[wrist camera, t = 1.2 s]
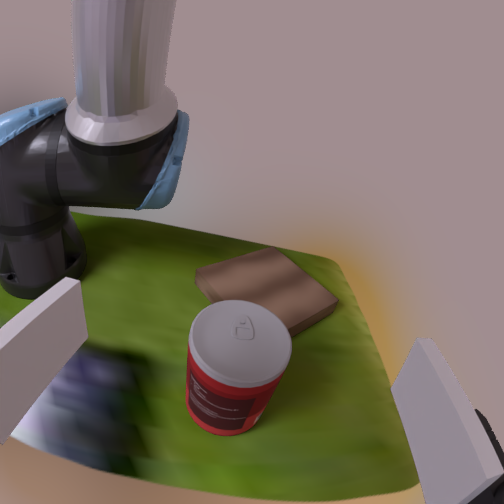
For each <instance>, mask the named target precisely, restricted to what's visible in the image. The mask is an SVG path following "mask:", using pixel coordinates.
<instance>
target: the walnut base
mask: <svg viewBox="0 0 504 504" xmlns="http://www.w3.org/2000/svg"><path fill="white" fill-rule="evenodd" d="M195 284H196V285H197V286H198V288H199V289H200V290H201V291H202V292H203V294H204V295H205V296H206V297H207V298H208V299H209V301H210V302H211V303H212V304H214V303H216V302H220V301H225V300H243V301H248V302H252V303H255V304H258V305H261V306H262V307H264V308H266V309H268V310H270V311H271V312H272V313H274V314H275V315H276V316H277V317H278V318H279V319H280V320H281V321H282V322H283V323H284V325H285V326H286V328H287V330H288V332H289V334H290V337H293V336H295V335H296V334H298V333H300V332H301V331H303V330H305V329H307V328H308V327H310V326H312V325H313V324H315V323H317V322H318V321H320V320H322V319H323V318H325V317H326V316H328V315H330V314H331V313H333V311H334V309H335V307H336V305H337V303H338V301H339V300H338V299H337V298H336V297H335V296H334V295H332V294H331V293H330V292H329V291H328V290H326V289H325V288H324V287H323V286H321V285H320V284H319V283H318V282H317V281H315V280H314V279H313V278H312V277H310V276H309V275H308V274H307V273H306V272H304V271H303V270H302V269H301V268H299V267H298V266H297V265H296V264H294V263H293V262H292V261H291V260H290V259H288V258H287V257H286V256H285V255H283V254H282V253H281V252H280V251H278V250H277V249H276V248H275V247H273V246H272V247H269V248H265V249H262V250H259V251H255V252H252V253H248V254H245V255H242V256H238V257H235V258H232V259H228V260H225V261H222V262H218V263H215V264H211V265H208V266H205V267H201V268H198V269H196V276H195Z"/></svg>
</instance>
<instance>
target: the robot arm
mask: <svg viewBox="0 0 504 504" xmlns="http://www.w3.org/2000/svg"><path fill="white" fill-rule="evenodd" d="M175 5H176V0H71V29H72V51H73V65H74V77H75V86H76V95H77V96H76V97H75V98H74V99H73V101H72V102H71V103H70V105H69V106H68V105H67V103H66V100H65V98H62V97H61V98H54V99H49V100H44V101H40V102H37V103H33V104H30V105H27V106H23V107H20V108H17V109H14V110H11V111H9V112H6V113H4V114H1V115H0V283H1V285H2V287H3V288H4V289H5V290H6V291H7V292H8V293H9V294H11V295H13V296H16V297H19V298H24V299H36V300H35V301H33V302H32V303H31V304H30V305H28V306H27V307H26V308H25V309H23V310H22V311H21V312H20V313H18V314H17V315H16V316H15V317H14V318H12V319H11V320H10V321H9V322H7V323H6V324H5V325H4V326H3V327H2V328H0V444H2V445H3V444H4V442H5V441H6V440H7V438H8V437H9V435H10V434H11V433H12V431H13V430H14V429H15V427H16V426H17V425H18V423H19V422H20V421H21V419H22V418H23V417H24V415H25V414H26V413H27V411H28V410H29V409H30V407H31V406H32V405H33V403H34V402H35V401H36V400H37V398H38V397H39V396H40V395H41V393H42V392H43V391H44V390H45V388H46V387H47V386H48V385H49V383H50V382H51V381H52V380H53V378H54V377H55V376H56V375H57V373H58V372H59V371H60V370H61V369H62V367H63V366H64V365H65V364H66V363H67V361H68V360H69V359H70V358H71V357H72V355H73V354H74V353H75V352H76V351H77V350H78V348H79V347H80V346H81V345H82V344H83V343H84V341H85V340H86V339H87V338H88V332H87V326H86V320H85V314H84V307H83V300H82V292H81V283H80V281H79V280H77V279H78V278H79V276H80V275H81V274H82V272H83V270H84V268H85V266H86V262H87V255H86V248H85V243H84V240H83V238H82V236H81V234H80V232H79V230H78V228H77V226H76V224H75V221H74V219H73V217H72V215H71V213H70V210H69V206H83V207H84V206H85V207H102V208H120V209H134V210H141V209H160V208H163V207H165V206H167V205H168V204H169V203H170V202H171V200H172V198H173V196H174V193H175V190H176V187H177V183H178V179H179V175H180V171H181V165H182V162H181V161H182V160H183V155H184V152H185V148H186V141H187V136H188V130H189V116H188V114H187V113H185V112H182V111H180V110H177V106H178V104H177V99H176V96H175V94H174V93H173V92H172V91H171V90H170V89H169V88H168V87H167V86H165V85H164V84H165V75H166V66H167V57H168V50H169V42H170V35H171V29H172V23H173V17H174V10H175ZM67 106H68V108H67ZM66 108H67V109H66ZM391 392H392V395H393V398H394V400H395V403H396V406H397V409H398V412H399V415H400V418H401V421H402V424H403V427H404V430H405V433H406V436H407V439H408V442H409V446H410V449H411V452H412V455H413V459H414V462H415V466H416V469H417V473H418V476H419V480H420V483H421V487H422V491H423V494H424V499H425V503H426V504H504V452H503V451H502V448H501V446H500V444H499V442H498V440H496V437H495V434H494V432H493V431H491V430H492V428H491V427H490V425H489V423H488V421H487V419H486V418H485V417H484V416H483V415H482V414H481V413H480V412H479V411H478V410H477V409H473V407H472V405H471V403H470V401H469V399H468V398H467V396H466V394H465V392H464V390H463V389H462V387H461V386H460V383H459V382H458V380H457V378H456V377H455V375H454V373H453V372H452V370H451V368H450V367H449V365H448V364H447V362H446V360H445V359H444V357H443V355H442V354H441V352H440V351H439V349H438V347H437V346H436V344H435V343H434V341H433V340H432V339H430V338H416V340H415V342H414V344H413V346H412V348H411V351H410V353H409V355H408V357H407V359H406V361H405V363H404V365H403V367H402V368H401V371H400V372H399V374H398V376H397V378H396V380H395V382H394V383H393V385H392V387H391Z"/></svg>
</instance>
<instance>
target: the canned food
mask: <svg viewBox="0 0 504 504" xmlns="http://www.w3.org/2000/svg"><path fill="white" fill-rule="evenodd" d="M291 352H292V341H291V337H290V334H289V332H288V330H287V328H286V326H285V325H284V323H283V322H282V321H281V320H280V319H279V318H278V317H277V316H276V315H275V314H274V313H272V312H271V311H270V310H268V309H266V308H264V307H262V306H261V305H258V304H255V303H252V302H248V301H243V300H225V301H220V302H216V303H214V304H212V305H209V306H208V307H206V308H205V309H203V310H202V311H201V312H200V313H199V314H198V315H197V316H196V318H195V319H194V321H193V323H192V326H191V329H190V333H189V342H188V357H187V378H186V405H187V409H188V411H189V414H190V415H191V417H192V418H193V420H194V421H195V422H196V423H197V424H198V425H199V426H200V427H201V428H202V429H204V430H206V431H207V432H209V433H212V434H215V435H220V436H232V435H237V434H240V433H243V432H245V431H247V430H248V429H250V428H251V427H253V426H254V425H255V423H256V422H257V421H258V419H259V418H260V416H261V414H262V412H263V411H264V409H265V407H266V405H267V403H268V402H269V400H270V398H271V396H272V394H273V392H274V391H275V389H276V387H277V385H278V383H279V381H280V379H281V377H282V375H283V373H284V371H285V369H286V367H287V365H288V363H289V359H290V356H291Z"/></svg>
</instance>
